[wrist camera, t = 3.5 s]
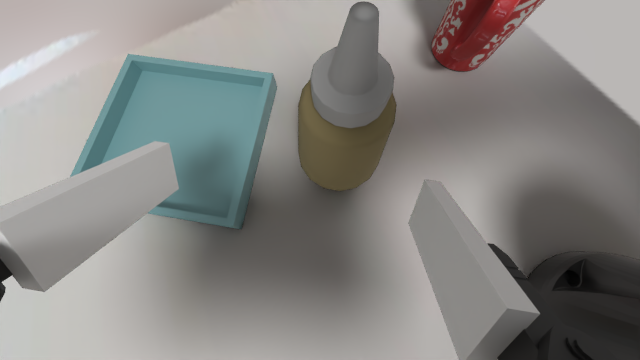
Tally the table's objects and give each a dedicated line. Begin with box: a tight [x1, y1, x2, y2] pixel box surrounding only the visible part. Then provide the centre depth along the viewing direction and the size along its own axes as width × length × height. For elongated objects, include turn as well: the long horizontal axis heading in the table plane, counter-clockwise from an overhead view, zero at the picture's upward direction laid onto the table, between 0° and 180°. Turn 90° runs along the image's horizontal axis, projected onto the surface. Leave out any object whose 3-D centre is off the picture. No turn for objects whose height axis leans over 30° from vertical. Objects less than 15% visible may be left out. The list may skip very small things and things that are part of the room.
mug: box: [432, 0, 545, 71], centre depth 24 cm, size 13×9×14 cm
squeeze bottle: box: [298, 2, 396, 191], centre depth 18 cm, size 8×8×18 cm
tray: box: [70, 54, 277, 229], centre depth 26 cm, size 18×18×2 cm
